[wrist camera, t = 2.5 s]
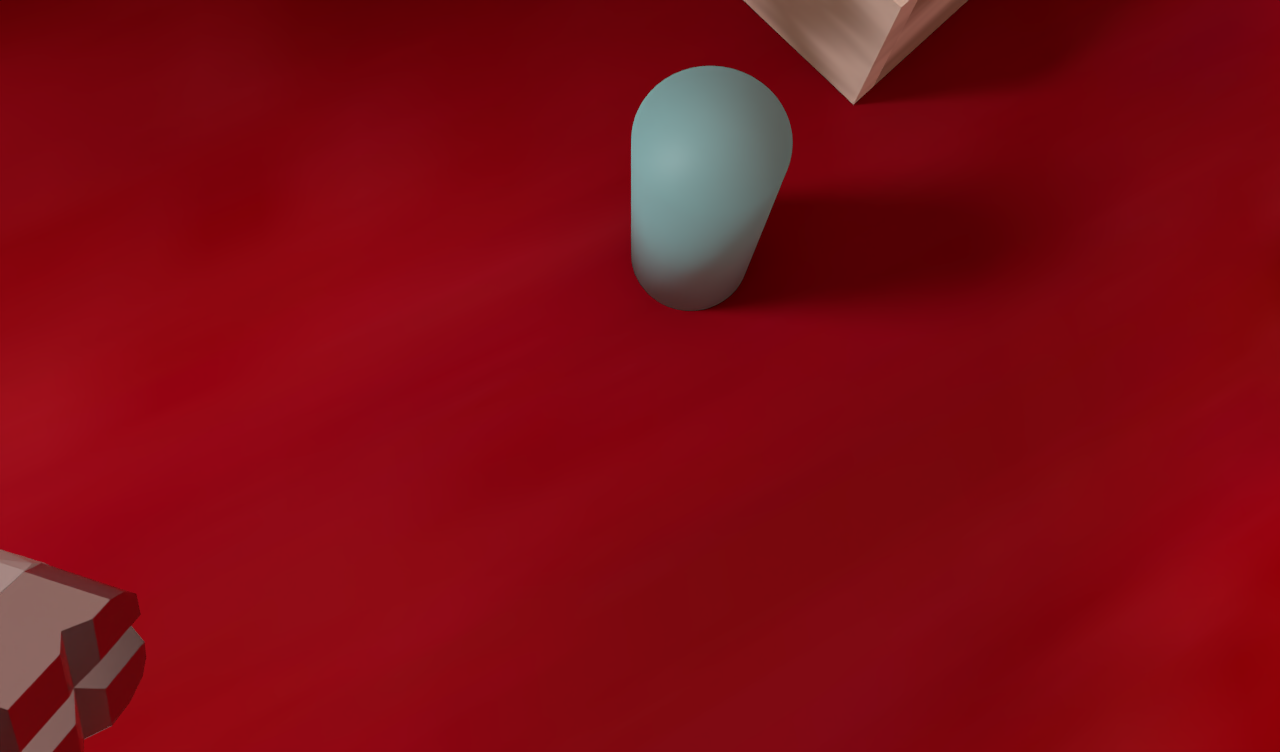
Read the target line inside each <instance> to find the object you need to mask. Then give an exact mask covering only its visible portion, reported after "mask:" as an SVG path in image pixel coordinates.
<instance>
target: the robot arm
mask: <svg viewBox="0 0 1280 752" xmlns="http://www.w3.org/2000/svg"><path fill="white" fill-rule="evenodd" d="M140 615H141V614H140V610H139V605H138V600H137V595H136V594H135V593H132V592H129V591H126V590H123V589H120V588H117V587H114V586H111V585H108V584H105V583H102V582H98V581H95V580H92V579H89V578H86V577H83V576H80V575H77V574H74V573H71V572H68V571H65V570H62V569H59V568H55V567H52V566H49V565H48V564H45V563H42V562H39V561H36V560H33V559H29V558H26V557H23V556H20V555H16V554H13V553H10V552H7V551H4V550H0V752H84V739H85V738H87V737H89V736H92V735H94V734H96V733H98V732H100V731H102V730H104V729H106V728H108V727H110V726H112V725H113V724H114V722H115V721H116V720H117V718H118V717H119V716H120V714H121V713H122V712H123V711H124V709H125V708H126V707H127V705H128V704H129V703H130V701H131V699H132V697H133V695H134V693H135V691H136V689H137V686H138V684H139V682H140V680H141V678H142V676H143V671H144V665H145V660H146V652H145V643H144V641H143V640H142V638H141V637H140V636H139V635H138V634H137V632H136V631H135V630H134V629H133V628H132V626H131V625H132V624H133V623H134V622H135V620H136V619H137V618H138V617H139V616H140Z"/></svg>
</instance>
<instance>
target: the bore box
mask: <svg viewBox="0 0 1280 752" xmlns="http://www.w3.org/2000/svg"><path fill="white" fill-rule="evenodd" d="M743 1H744V2H746V3H747V4H748V5H749V6H750V7H751V8H752V9H753V10H754V11H755V12H756V13H757V14H758V15H759V16H760V17H761V18H762V19H764V20H765V21H766V22H767V23H768V24H769V25H770V26H771V27H772V28H773V29H774V30H775V31H776V32H777V33H778V34H779V35H780V36H781V37H783V38H784V39H785V40H786V41H787V42H788V43H789V44H790V45H791V46H792V47H793V48H794V49H795V50H796V51H797V52H798V53H799V54H800V55H802V56H803V57H804V58H805V59H806V60H807V61H808V62H809V63H810V64H811V65H812V66H813V67H814V68H815V69H816V70H817V71H818V72H820V73H821V74H822V75H823V76H824V77H825V78H826V79H827V80H828V81H829V82H830V83H831V84H832V85H833V86H834V87H835V88H836V89H837V90H839V91H840V92H841V93H842V94H843V95H844V96H845V97H846V98H847V99H848V100H849V101H850V102H851V103H852V104H853V105H854V104H855V103H856V102H857V101H858V100H859V99H860V98H861V97H862V96H864V95H865V94H866V93H867V92H868V91H869V90H870V89H871V88H872V87H873V86H874V85H876V84H877V83H878V82H879V81H880V80H881V79H882V78H883V77H884V76H885V75H887V74H888V73H889V72H890V71H891V70H892V69H893V68H894V67H895V66H896V65H898V64H899V63H900V62H901V61H902V60H903V59H904V58H905V57H906V56H907V55H909V54H910V53H911V52H912V51H913V50H914V49H915V48H916V47H917V46H918V45H919V44H921V43H922V42H923V41H924V40H925V39H926V38H927V37H928V36H929V35H930V34H932V33H933V32H934V31H935V30H936V29H937V28H938V27H939V26H940V25H941V24H943V23H944V22H945V21H946V20H947V19H948V18H949V17H950V16H951V15H952V14H953V13H955V12H956V11H957V10H958V9H959V8H960V7H961V6H962V5H963V4H964V3H966V2H967V1H968V0H743Z"/></svg>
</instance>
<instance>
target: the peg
mask: <svg viewBox="0 0 1280 752" xmlns="http://www.w3.org/2000/svg"><path fill="white" fill-rule="evenodd" d="M792 144H793V142H792V131H791V126H790V122H789V119H788V117H787V114H786V112H785V110H784V108H783V106H782V104H781V103H780V102H779V100H778V99H777V97H776V96H775V95H774V94H773V93H772V92H771V91H770V89H768V88H767V87H766V86H765V85H764V84H763V83H761V82H760V81H758V80H757V79H755V78H754V77H752V76H750V75H748V74H746V73H744V72H741V71H738V70H735V69H732V68H727V67H721V66H700V67H693V68H689V69H686V70H682V71H680V72H678V73H675V74H673V75H671V76H669V77H668V78H666V79H664V80H663V81H662V82H660V83H659V84H658V85H656V86H655V87H654V88H653V89H652V90H651V91H650V92H649V94H648V95H647V96H646V97H645V99H644V100H643V102H642V103H641V105H640V107H639V109H638V111H637V114H636V116H635V119H634V123H633V127H632V135H631V260H632V266H633V269H634V273H635V275H636V277H637V279H638V281H639V283H640V284H641V286H642V287H643V288H644V290H645V291H646V292H647V293H648V294H649V295H650V296H651V297H652V298H654V299H655V300H657V301H658V302H660V303H662V304H664V305H665V306H668V307H671V308H674V309H678V310H685V311H697V310H703V309H707V308H710V307H713V306H715V305H718V304H719V303H721V302H723V301H724V300H726V299H727V298H728V297H729V296H731V295H732V294H733V293H734V291H735V290H736V289H737V288H738V286H739V285H740V284H741V282H742V280H743V278H744V276H745V273H746V271H747V268H748V266H749V263H750V261H751V258H752V256H753V253H754V251H755V248H756V246H757V243H758V241H759V238H760V236H761V233H762V231H763V228H764V226H765V223H766V221H767V219H768V216H769V214H770V211H771V209H772V206H773V204H774V201H775V199H776V196H777V194H778V191H779V189H780V186H781V184H782V181H783V179H784V176H785V174H786V171H787V169H788V166H789V163H790V159H791V154H792Z"/></svg>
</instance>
